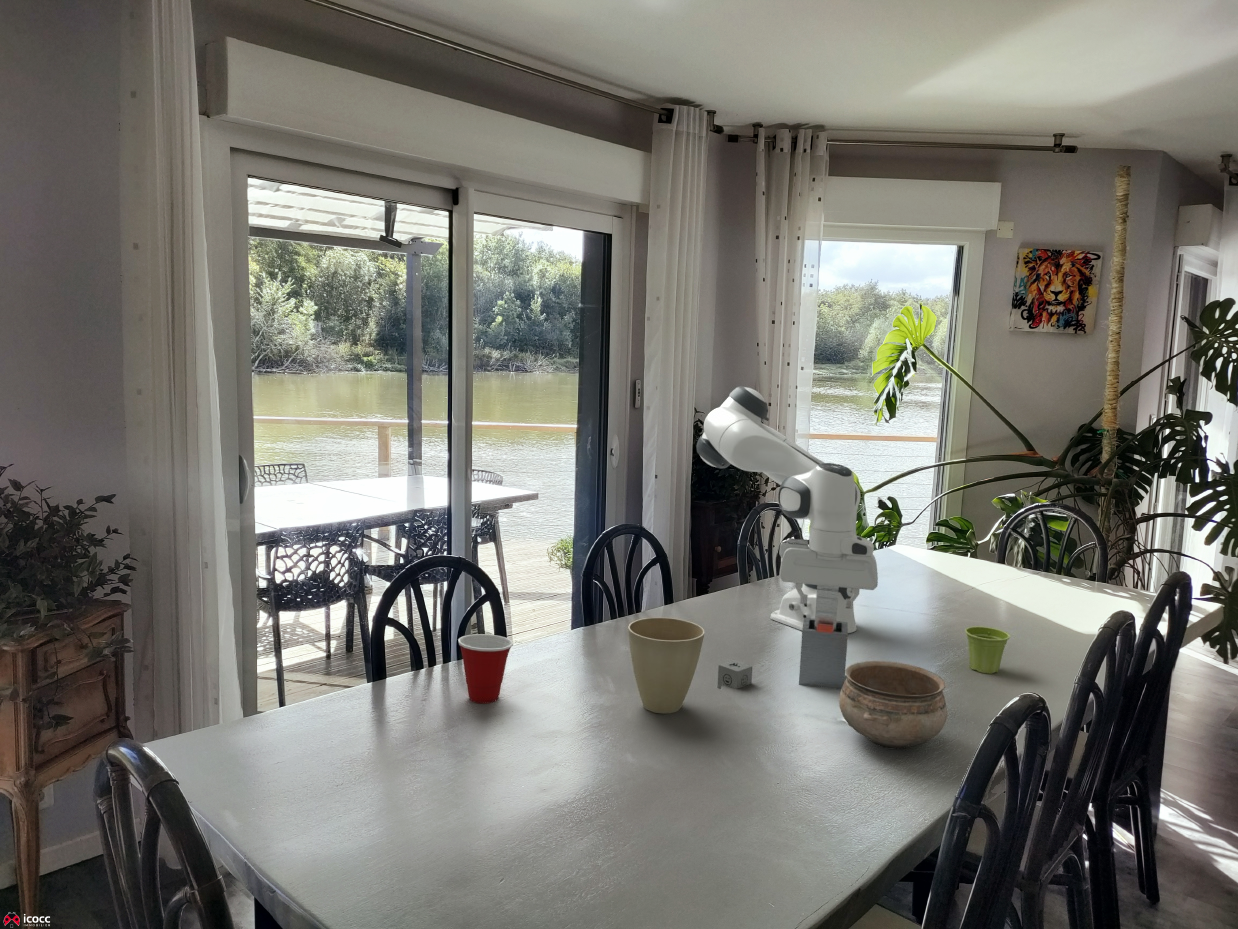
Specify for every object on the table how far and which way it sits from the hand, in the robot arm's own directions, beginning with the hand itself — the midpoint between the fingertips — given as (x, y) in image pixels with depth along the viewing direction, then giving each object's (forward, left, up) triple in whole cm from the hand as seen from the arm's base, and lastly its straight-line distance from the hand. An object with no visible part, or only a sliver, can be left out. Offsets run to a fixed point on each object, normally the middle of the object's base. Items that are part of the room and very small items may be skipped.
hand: (826, 605), depth 191 cm
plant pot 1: (-14, -35, -18) cm, 42 cm away
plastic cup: (-40, -59, -18) cm, 73 cm away
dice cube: (-11, -16, -18) cm, 26 cm away
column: (0, 0, -16) cm, 16 cm away
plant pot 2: (+19, +38, -18) cm, 46 cm away
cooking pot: (+24, -15, -18) cm, 33 cm away
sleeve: (0, 0, -17) cm, 17 cm away
